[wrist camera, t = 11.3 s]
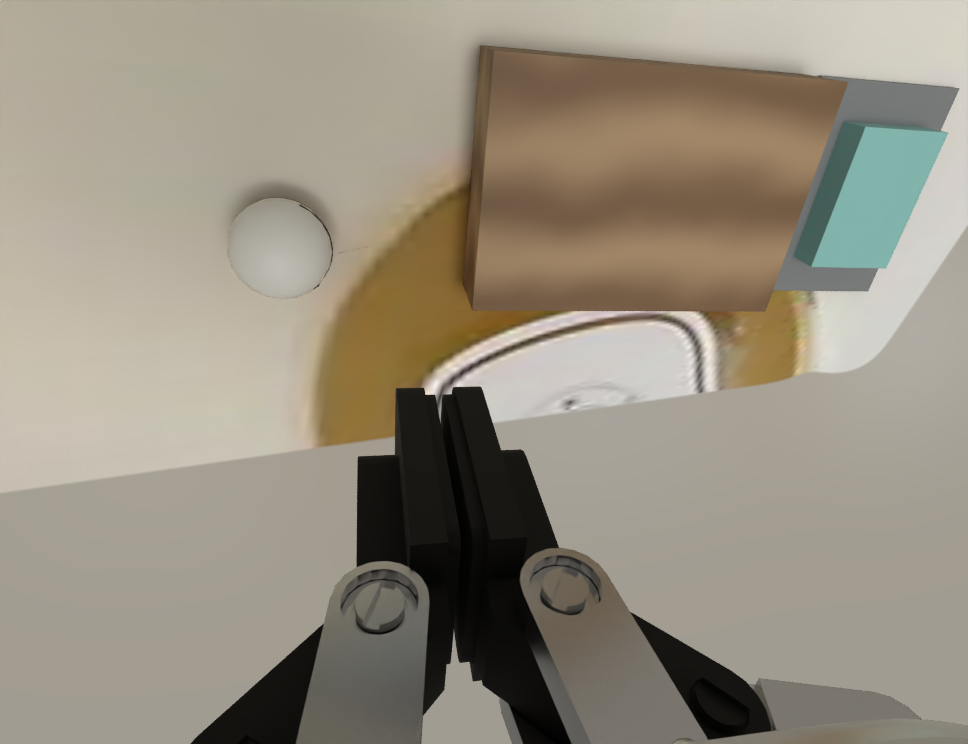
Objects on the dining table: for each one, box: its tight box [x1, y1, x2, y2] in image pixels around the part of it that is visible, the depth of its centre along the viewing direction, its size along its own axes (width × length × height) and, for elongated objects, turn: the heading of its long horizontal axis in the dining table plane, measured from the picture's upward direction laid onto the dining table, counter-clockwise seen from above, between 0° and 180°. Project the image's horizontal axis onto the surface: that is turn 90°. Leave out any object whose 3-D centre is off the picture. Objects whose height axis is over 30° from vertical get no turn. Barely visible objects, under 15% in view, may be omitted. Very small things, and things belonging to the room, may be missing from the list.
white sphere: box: [227, 198, 368, 299], centre depth 34 cm, size 8×6×6 cm
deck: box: [463, 45, 848, 312], centre depth 36 cm, size 14×20×4 cm
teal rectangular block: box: [794, 121, 948, 268], centre depth 40 cm, size 9×6×2 cm, turn 175°
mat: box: [773, 76, 959, 291], centre depth 41 cm, size 14×10×1 cm
